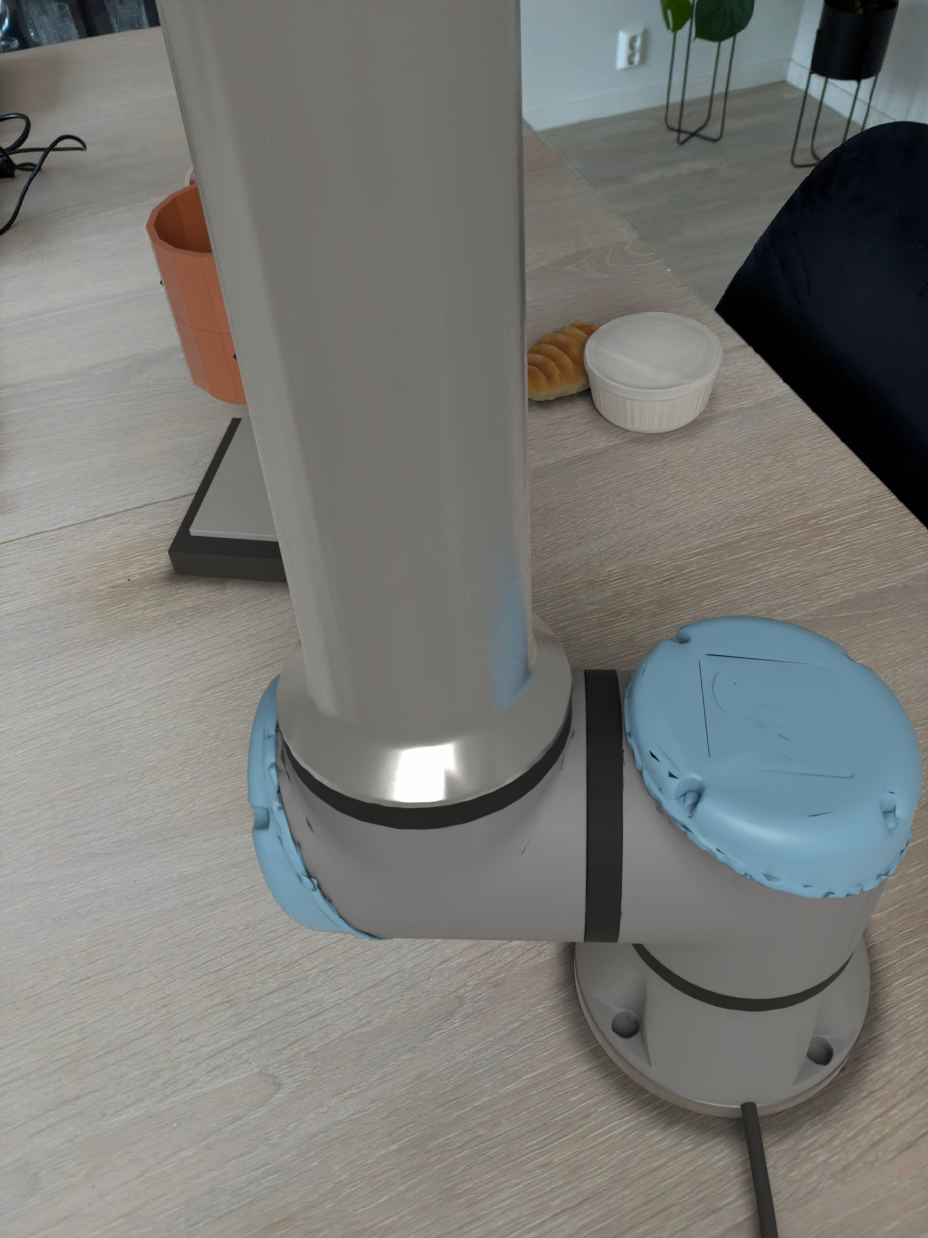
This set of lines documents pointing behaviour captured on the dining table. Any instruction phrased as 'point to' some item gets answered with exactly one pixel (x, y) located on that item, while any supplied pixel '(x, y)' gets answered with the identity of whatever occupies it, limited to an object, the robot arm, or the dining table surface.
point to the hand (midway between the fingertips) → (213, 328)
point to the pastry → (559, 362)
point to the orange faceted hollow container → (195, 293)
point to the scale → (230, 517)
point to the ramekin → (652, 370)
